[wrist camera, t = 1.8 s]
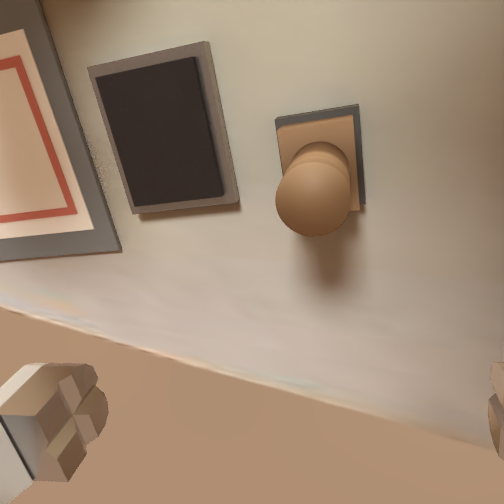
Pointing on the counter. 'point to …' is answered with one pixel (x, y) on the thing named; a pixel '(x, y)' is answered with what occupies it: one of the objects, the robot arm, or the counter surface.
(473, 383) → the counter surface
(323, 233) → the stamp
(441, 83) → the counter surface
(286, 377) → the counter surface
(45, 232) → the mat
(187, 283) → the counter surface
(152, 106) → the ink pad
